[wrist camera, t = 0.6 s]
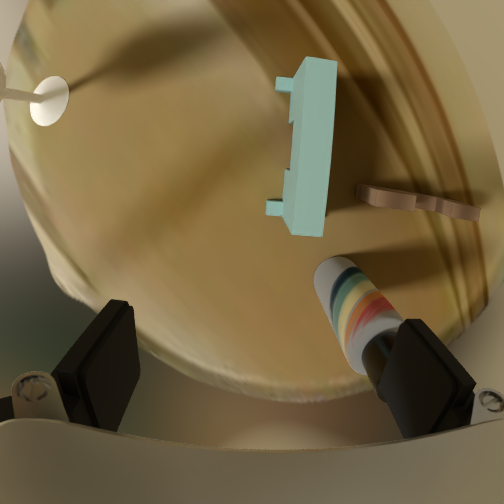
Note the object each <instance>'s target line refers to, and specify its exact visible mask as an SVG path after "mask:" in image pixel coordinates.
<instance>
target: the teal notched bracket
mask: <svg viewBox="0 0 504 504" xmlns="http://www.w3.org/2000/svg"><path fill="white" fill-rule="evenodd" d="M336 78H337V61H332V60H326V59H320V58H314V57H307V56H306V57H305V59H304V61H303V62H302V64H301V66H300V67H299V69H298V71H297V73H296V74H295V76H294V78H285V77H277V78H276V86H275V92H285V93H291V99H290V113H289V124H294V125H293V138H292V150H291V162H290V170H289V169H285V176H284V187H283V198H282V201H277V200H267V202H266V215H273V216H282V217H283V219H284V221H285V223H286V225H287V227H288V229H289V230H290V232H291V234H292V235H303V236H316V237H322V235H323V227H324V219H325V211H326V202H327V193H328V184H329V174H330V164H331V153H332V141H333V128H334V114H335V97H336Z"/></svg>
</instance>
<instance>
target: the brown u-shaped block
mask: <svg viewBox="0 0 504 504" xmlns="http://www.w3.org/2000/svg"><path fill="white" fill-rule="evenodd" d="M356 198H358V199H360V200H362V201H364V202H367V203H369V204H371V205H373V206H377V207H384V208H392V209H399V210H407V211H414V210H415V208H419V209H425V210H431V211H436V212H439V213H441V214H444V215H446V216H449V217H452V218H458V219H464V220H470V221H476V222H478V221H479V216H480V210H481V208H478V207H475V206H472V205H469V204H466V203H462V202H459V201H456V200H452V199H447V198H442V197H437V196H432V195H426V194H421V193H415V192H409V191H403V190H397V189H391V188H384V187H377V186H371V185H363V184H357V189H356Z"/></svg>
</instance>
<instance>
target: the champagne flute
mask: <svg viewBox="0 0 504 504" xmlns="http://www.w3.org/2000/svg"><path fill="white" fill-rule="evenodd" d="M5 87H6V76H5V72H4V69H3V67H2V65H1V63H0V102H1V100H2V99H9V100H17V101H24V102H31V103H30V112H31V116H32V118H33V120H34V121H35V122H36V123H37V124H38V125H41V126H48V125H51V124H53V123H55V122H56V121H57V120H58V119H59V118H60V117H61V116H62V114H63V113H64V111H65V109H66V107H67V104H68V99H69V89H68V85H67V83H66V81H65V80H64V79H63V78H61V77H59V76H51V77H49V78H47V79H45V80H43V81H42V82H41V83H40V84H39V85H38V86H37V88H36V89H35V91H34V93H31V92H25V91H20V90H14V89H9V88H5Z"/></svg>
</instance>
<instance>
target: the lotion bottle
mask: <svg viewBox="0 0 504 504" xmlns="http://www.w3.org/2000/svg"><path fill="white" fill-rule="evenodd" d="M314 287H315V290H316V293H317V295H318V297H319V299H320V301H321V304H322V306H323V308H324V310H325V312H326V315H327V317H328V319H329V321H330V323H331V326H332V328H333V330H334V332H335V334H336V337H337V339H338V341H339V343H340V346H341V348H342V350H343V352H344V355H345V357H346V359H347V361H348V363H349V365H350V366H351V367H352V369H353V370H354V371H356V372H358V373H360V374H363V375H368V377H369V379H370V381H371V384H372V386H373V388H374V390H375V392H376V394H377V396H378V397H379V399H380V400H382V401H383V402H386V400H385V398H384V396H383V394H382V392H381V390H380V379H381V377H382V374H383V371H384V369H385V366H386V363H387V361H388V358H389V355H390V352H391V349H392V347H393V344H394V341H395V338H396V335H397V332H398V329H399V326H400V324H401V323H403V322H404V319H403V318H402V317H401V316H400V315H399V313H398V312H397V311H396V310H395V309H394V307H393V306H392V305H391V304H390V303H389V302H388V300H387V299H386V298H385V297H384V296H383V295H382V294H381V292H380V291H379V290H378V289H377V288H376V287H375V286H374V285H373V283H372V282H371V281H370V280H369V279H368V278H367V277H366V276H365V274H364V273H363V272H362V271H361V270H360V269H359V268H358V267H357V266H356V265H355V264H354V263H353V262H352V261H351V260H349V259H347V258H345V257H332V258H329V259H327V260H325V261H324V262H322V263H321V264H320V265H319V267H318V268H317V270H316V272H315V275H314ZM386 403H387V402H386Z"/></svg>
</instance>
